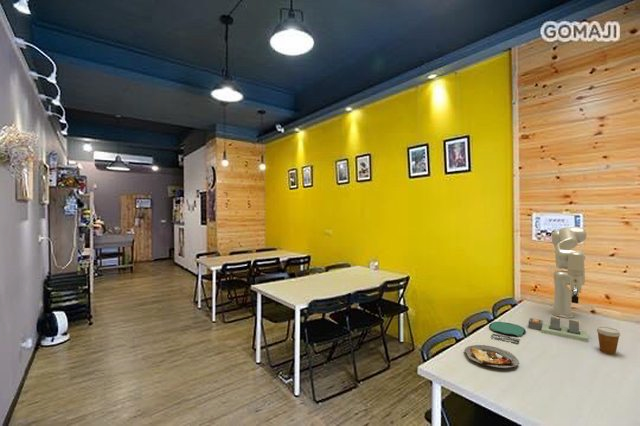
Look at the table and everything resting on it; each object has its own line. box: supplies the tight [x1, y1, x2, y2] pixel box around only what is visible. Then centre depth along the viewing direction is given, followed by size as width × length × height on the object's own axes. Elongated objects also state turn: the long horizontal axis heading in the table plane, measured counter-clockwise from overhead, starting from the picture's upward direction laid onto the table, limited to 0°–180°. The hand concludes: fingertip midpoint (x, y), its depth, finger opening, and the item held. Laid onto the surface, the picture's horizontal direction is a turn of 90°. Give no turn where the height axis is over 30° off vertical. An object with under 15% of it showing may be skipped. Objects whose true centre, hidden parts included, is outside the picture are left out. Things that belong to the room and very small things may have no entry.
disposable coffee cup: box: [596, 326, 621, 355], centre depth 172 cm, size 10×10×12 cm
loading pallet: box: [528, 317, 589, 343], centre depth 197 cm, size 29×14×5 cm, turn 52°
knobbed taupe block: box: [568, 319, 580, 334], centre depth 192 cm, size 5×5×8 cm
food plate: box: [464, 344, 520, 369], centre depth 164 cm, size 25×23×4 cm
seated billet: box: [549, 316, 561, 331], centre depth 198 cm, size 5×5×8 cm
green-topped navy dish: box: [489, 321, 527, 345], centre depth 197 cm, size 20×30×2 cm, turn 143°
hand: (574, 300), depth 193 cm, fingers open, 9 cm apart
